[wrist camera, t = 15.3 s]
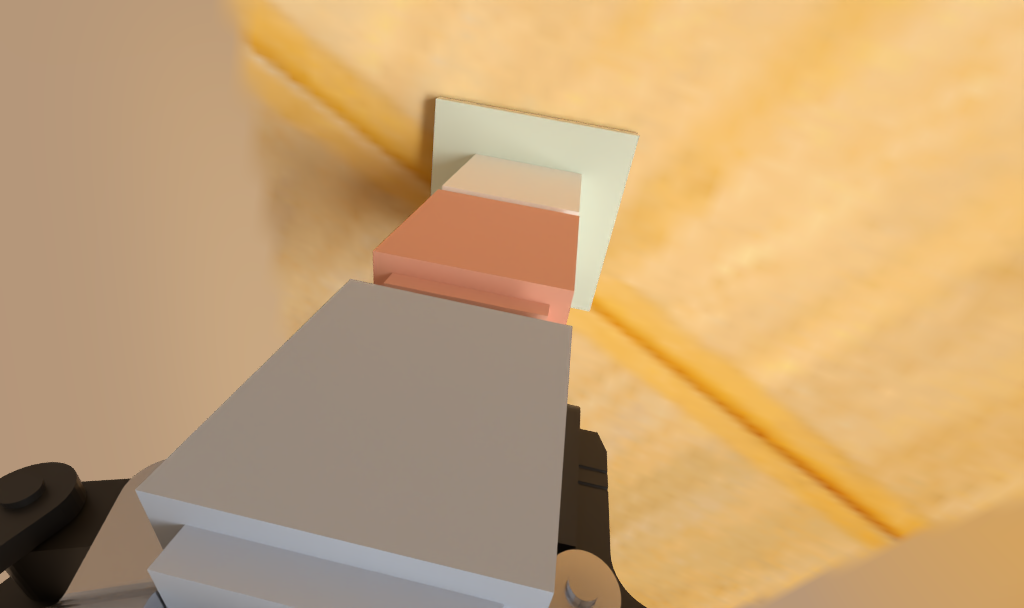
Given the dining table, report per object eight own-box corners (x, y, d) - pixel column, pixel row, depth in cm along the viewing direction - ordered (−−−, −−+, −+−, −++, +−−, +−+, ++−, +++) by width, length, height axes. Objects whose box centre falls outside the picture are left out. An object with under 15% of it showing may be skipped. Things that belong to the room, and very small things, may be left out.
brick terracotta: (438, 189, 17) (363, 260, 11) (579, 216, 17) (573, 302, 11) (431, 309, 20) (368, 413, 14) (552, 333, 20) (536, 450, 14)
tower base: (440, 96, 22) (381, 117, 16) (637, 133, 22) (656, 168, 16) (430, 271, 28) (382, 339, 21) (589, 304, 27) (589, 383, 21)
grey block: (350, 278, 11) (90, 533, 5) (572, 326, 11) (549, 649, 5) (357, 434, 14) (194, 706, 8) (532, 474, 13) (489, 786, 8)
